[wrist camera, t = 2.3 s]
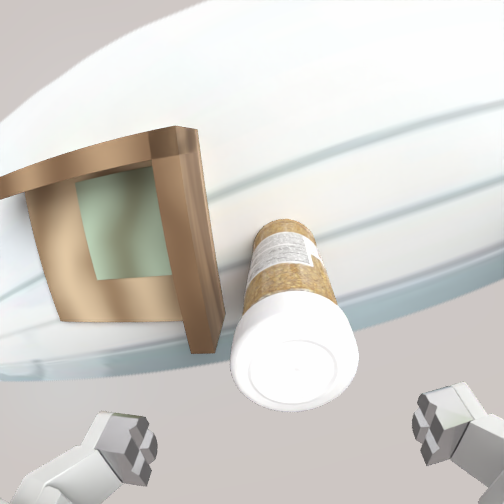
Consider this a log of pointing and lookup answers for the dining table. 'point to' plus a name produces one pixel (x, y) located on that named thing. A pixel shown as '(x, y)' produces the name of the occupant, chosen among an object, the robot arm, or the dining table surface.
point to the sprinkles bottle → (291, 326)
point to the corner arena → (127, 232)
